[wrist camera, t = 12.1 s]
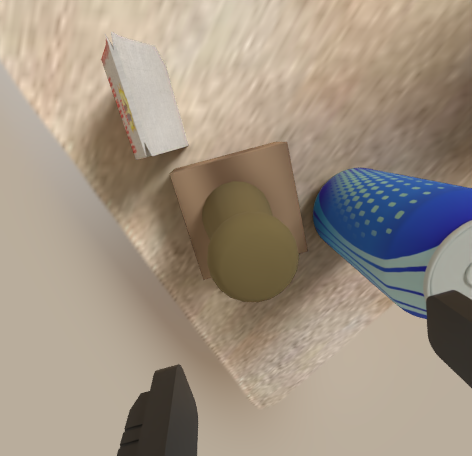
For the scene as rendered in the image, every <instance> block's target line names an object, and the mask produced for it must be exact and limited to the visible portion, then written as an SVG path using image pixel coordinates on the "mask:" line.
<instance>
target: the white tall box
mask: <svg viewBox="0 0 472 456" xmlns="http://www.w3.org/2000/svg"><path fill="white" fill-rule="evenodd" d="M111 35H112V41H113V46H112V44H111V42H110V41H109V39H108V38H107V36H106V34H105V36H106V46H105V49H104V53H103V56H102V59H101V60H102V63H103V66H104V69H105V72H106V75H107V77H108V80H109V83H110V86H111V89H112V92H113V95H114V98H115V101H116V104H117V106H118V109H119V112H120V115H121V118H122V121H123V124H124V127H125V130H126V132H127V135H128V138H129V141H130V144H131V147H132V150H133V153H134V156H135V158H136V160H137V159H142V158H146V157H148V156H155V155H158V154H162V153H165V152H169V151H172V150H176V149H179V148H183V147H186V146H188V145H189V144H188V141H187V137H186V134H185V130H184V127H183V123H182V120H181V116H180V113H179V109H178V106H177V102H176V99H175V95H174V92H173V88H172V85H171V81H170V78H169V74H168V71H167V67H166V65H165V63H164V61H163V60H162V58H161V56H160V54H159V52H158V51H157V49H156V47H155V46H153V45H150V44H146V43H142V42H138V41H135V40H131V39H128V38H125V37H122V36H119V35H117V34H115V33H113V32H111Z"/></svg>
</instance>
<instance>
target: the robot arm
mask: <svg viewBox="0 0 472 456" xmlns="http://www.w3.org/2000/svg"><path fill="white" fill-rule="evenodd" d="M426 311H427V327H428V328H427V329H428V338H429V342H430V344H431V346H432V348H433V349H434V351H435V353H436V354H437V355H438V356H439V357H440V358H441V359H442V360H443V361H444V362H445V363H446V364H447V365H448V366H449V367H450V368H451V369H452V370H453V371H454V372H455V373H456V374H457V375H459V376H460V377H461V378H462V379H463V380H464V381H465V382H466V383H467V384H468V385H469V386H470V387H471V388H472V299H470V298H468V297H467V296H465V295H463V294H462V293H460V292H458V291H456V290H450V291H446V292H443V293H439V294H435V295H432V296H429V297H428V298H427V299H426ZM197 436H198V413H197V407H196V403H195V400H194V397H193V394H192V392H191V389H190V387H189V384H188V382H187V379H186V376H185V374H184V371H183V369H182V367H181V365H175V366H171V367H168V368H164V369H160V370H157V371H155V373H154V376H153V380H152V385H151V389H150V391H148V392H144V393H141V394H140V396H139V397H138V399H137V400H136V402H135V403H134V405H133V406H132V408H131V409H130V412H129V415H128V419H127V423H126V426H125V432H124V433H123V436H122V440H121V443H120V449H119V450H118V454H117V456H197V440H198V437H197Z"/></svg>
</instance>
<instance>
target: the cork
mask: <svg viewBox="0 0 472 456" xmlns="http://www.w3.org/2000/svg"><path fill="white" fill-rule="evenodd" d="M202 221H203V225H204V228H205V231H206V233H207V235H208V237H209V239H210V243H209V245H208V255H207V265H208V268H209V272H210V275H211V277H212V279H213V280H214V282H215V283H216V284H217V286H218V287H219V289H220V290H221V291H222V292H224V293H225V294H227V295H228V296H230V297H231V298H234V299H237V300H240V301H243V302H261V301H264V300H268V299H271V298H273V297H274V296H276V295H278V294H279V293H281V292H282V291H283V290H284V289H285V288H286V287H287V286H288V285H289V284H290V283H291V281H292V279H293V277H294V275H295V273H296V271H297V267H298V260H299V255H298V249H297V244H296V240H295V238H294V237H293V235H292V233H291V231H290V230H289V228H288V227H287V226H286V225H284V224H283V223H282V222H281V221H280V220H278V219H277V218H276V217H274V216H273V214H272V211H271V208H270V205H269V202H268V200H267V198H266V197H265V195H264V193H263V192H261V191H260V190H259V189H258V188H257V187H256V186H254V185H251V184H249V183H246V182H237V181H233V182H229V183H225V184H222V185H221V186H219V187H218V188H216V189H214V190H213V191H212V193H211V194H210V195H209V196H208V197H207V199H206V201H205V204H204V206H203V209H202Z"/></svg>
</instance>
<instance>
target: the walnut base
mask: <svg viewBox="0 0 472 456" xmlns="http://www.w3.org/2000/svg"><path fill="white" fill-rule="evenodd" d="M170 177H171V180H172V183H173V186H174V189H175V192H176V196H177V199H178V202H179V205H180V208H181V211H182V214H183V217H184V220H185V224H186V227H187V230H188V233H189V236H190V239H191V242H192V245H193V248H194V252H195V255H196V258H197V261H198V264H199V267H200V270H201V273H202V276H203V280H204V279H208V278H212V277H211V275H210V272H209V268H208V265H207V255H208V245H209V243H210V239H209V237H208V235H207V233H206V231H205V228H204V225H203V221H202V209H203V206H204V204H205V201H206V199H207V197H208V196H209V195H210V194H211V193H212V191H213V190H214V189H216V188H218V187H219V186H221V185H222V184H225V183H229V182H233V181H237V182H246V183H249V184H251V185H254V186H256V187H257V188H258V189H259V190H260V191H261V192H263V193H264V195H265V197H266V198H267V200H268V202H269V205H270V208H271V211H272V214H273V216H274V217H276V218H277V219H278V220H280V221H281V222H282V223H283V224H284V225H286V226H287V227H288V228H289V230H290V231H291V233H292V235H293V237H294V238H295V240H296V244H297V249H298V254H299V253H303V252H307V251H308V249H307V244H306V239H305V234H304V228H303V223H302V218H301V213H300V207H299V202H298V197H297V192H296V186H295V181H294V176H293V171H292V165H291V160H290V155H289V149H288V144H287V142H273V143H270V144H266V145H262V146H258V147H255V148H251V149H247V150H243V151H240V152H236V153H232V154H228V155H225V156H221V157H217V158H214V159H210V160H206V161H202V162H199V163H195V164H191V165H187V166H184V167H180V168H176V169H174V170H173V171H172V172H171V173H170Z"/></svg>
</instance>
